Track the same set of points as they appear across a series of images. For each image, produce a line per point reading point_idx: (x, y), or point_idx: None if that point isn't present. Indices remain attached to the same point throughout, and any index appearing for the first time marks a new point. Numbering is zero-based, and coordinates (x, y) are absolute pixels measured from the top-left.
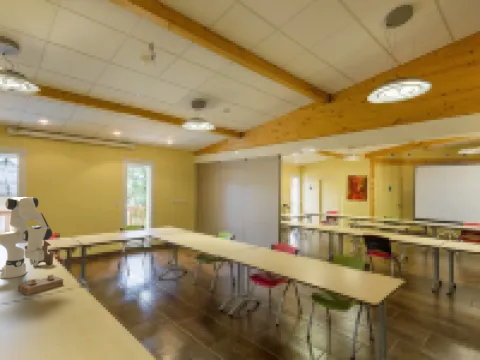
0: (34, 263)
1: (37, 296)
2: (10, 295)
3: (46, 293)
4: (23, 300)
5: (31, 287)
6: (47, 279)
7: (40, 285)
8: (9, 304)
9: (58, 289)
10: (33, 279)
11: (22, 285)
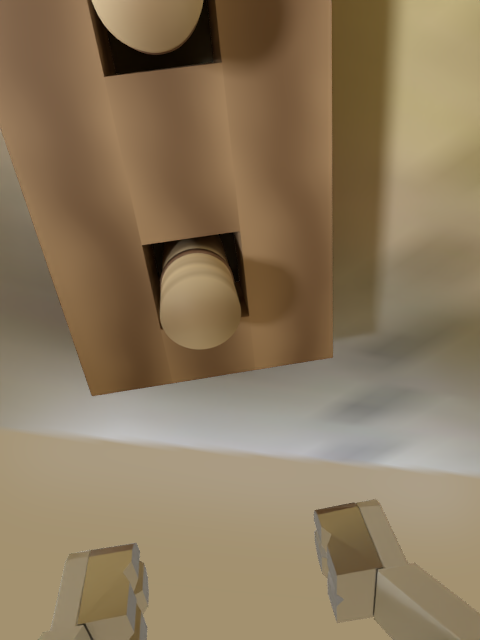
0: (346, 618)
1: (441, 271)
2: (188, 414)
3: (448, 181)
4: (419, 371)
5: (322, 324)
6: (152, 54)
7: (331, 226)
8: (402, 445)
9: (461, 11)
10: (199, 309)
11: (149, 371)
